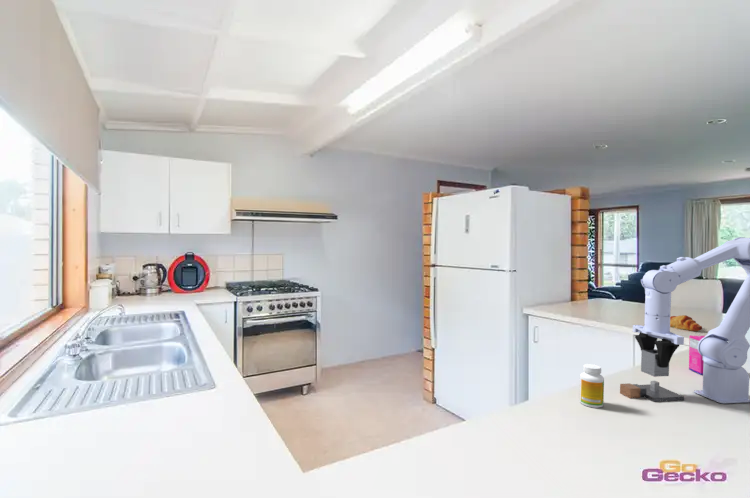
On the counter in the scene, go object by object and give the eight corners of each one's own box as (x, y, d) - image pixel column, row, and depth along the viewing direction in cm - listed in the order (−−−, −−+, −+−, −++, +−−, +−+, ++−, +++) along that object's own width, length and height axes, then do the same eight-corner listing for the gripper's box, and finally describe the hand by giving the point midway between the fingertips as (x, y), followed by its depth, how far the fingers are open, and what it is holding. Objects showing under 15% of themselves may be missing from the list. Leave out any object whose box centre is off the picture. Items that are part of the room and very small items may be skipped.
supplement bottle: (606, 409, 100) (607, 370, 99) (582, 407, 101) (584, 368, 100) (599, 400, 105) (600, 363, 105) (576, 398, 106) (577, 362, 106)
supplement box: (706, 370, 132) (708, 335, 132) (720, 376, 127) (721, 339, 126) (687, 369, 133) (689, 334, 133) (700, 375, 127) (701, 339, 127)
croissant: (659, 330, 209) (653, 316, 208) (676, 321, 210) (669, 307, 209) (696, 339, 188) (688, 324, 187) (713, 329, 188) (706, 314, 188)
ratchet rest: (655, 387, 115) (655, 375, 115) (683, 400, 106) (684, 387, 106) (612, 389, 113) (613, 377, 113) (638, 402, 104) (638, 389, 104)
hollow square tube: (654, 370, 112) (655, 349, 112) (668, 376, 108) (669, 353, 108) (640, 371, 112) (641, 349, 112) (654, 376, 107) (654, 354, 107)
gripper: (623, 309, 116) (622, 356, 116) (667, 320, 102) (665, 373, 102) (645, 309, 117) (643, 356, 118) (691, 319, 103) (689, 372, 103)
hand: (655, 364), depth 110 cm, fingers closed on hollow square tube, 4 cm apart
